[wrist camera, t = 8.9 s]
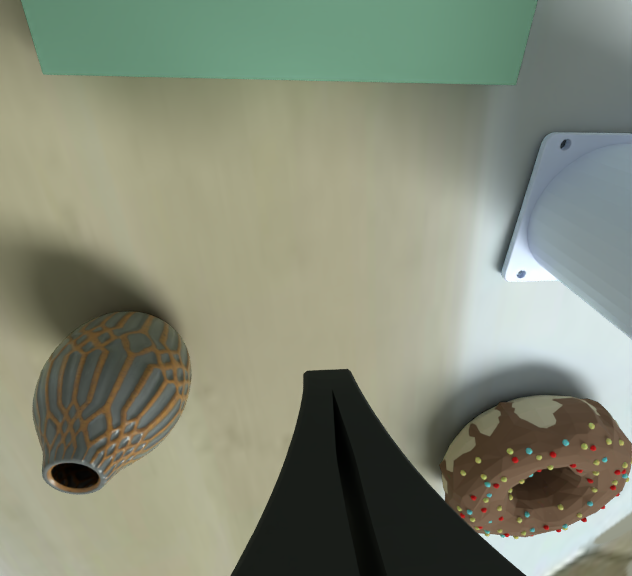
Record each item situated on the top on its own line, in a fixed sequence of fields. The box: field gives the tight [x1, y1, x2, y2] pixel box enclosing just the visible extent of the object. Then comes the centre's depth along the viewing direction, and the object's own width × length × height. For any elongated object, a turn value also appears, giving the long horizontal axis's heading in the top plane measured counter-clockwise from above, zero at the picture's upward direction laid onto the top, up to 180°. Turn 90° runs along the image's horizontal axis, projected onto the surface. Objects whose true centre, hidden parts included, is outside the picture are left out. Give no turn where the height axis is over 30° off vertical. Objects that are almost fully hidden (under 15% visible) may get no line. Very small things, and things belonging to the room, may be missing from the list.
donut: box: [439, 395, 632, 539], centre depth 29 cm, size 14×14×5 cm
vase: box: [32, 311, 191, 494], centre depth 19 cm, size 7×7×9 cm
